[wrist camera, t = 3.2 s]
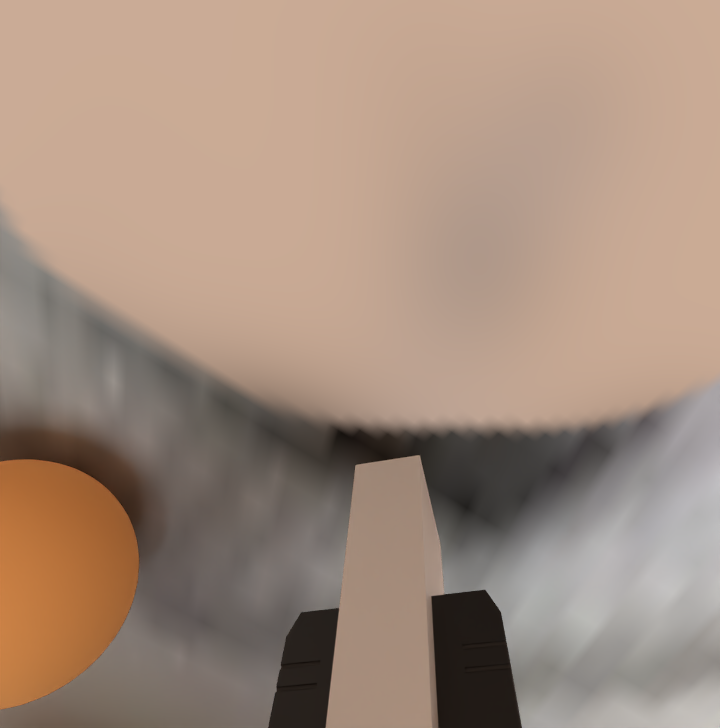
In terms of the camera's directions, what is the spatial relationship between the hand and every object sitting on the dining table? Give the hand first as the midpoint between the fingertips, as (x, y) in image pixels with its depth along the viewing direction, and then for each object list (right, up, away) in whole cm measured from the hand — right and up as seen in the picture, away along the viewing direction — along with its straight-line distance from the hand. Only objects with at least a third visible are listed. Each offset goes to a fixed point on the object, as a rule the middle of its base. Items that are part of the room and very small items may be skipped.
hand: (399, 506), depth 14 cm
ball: (-10, -2, +1) cm, 10 cm away
